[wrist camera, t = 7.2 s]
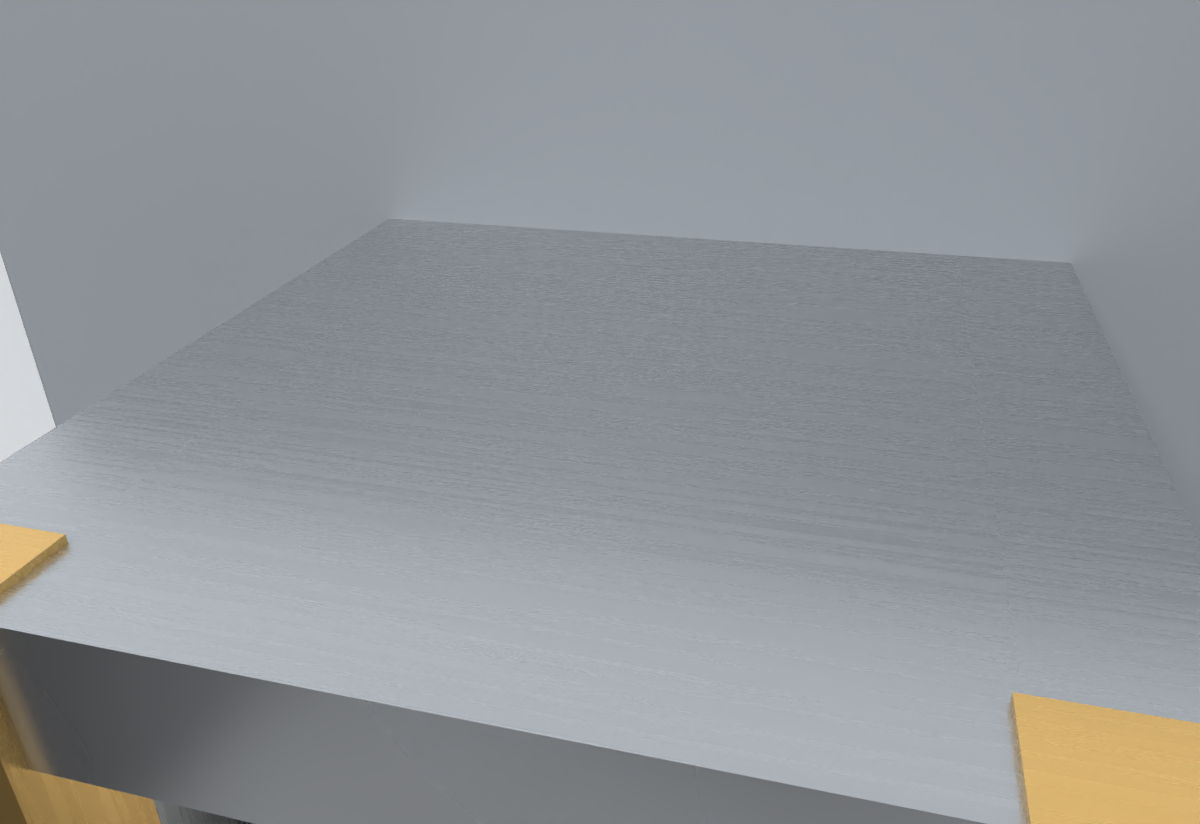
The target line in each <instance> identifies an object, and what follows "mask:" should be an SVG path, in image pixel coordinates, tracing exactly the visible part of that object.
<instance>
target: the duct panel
mask: <svg viewBox="0 0 1200 824" xmlns="http://www.w3.org/2000/svg"><path fill="white" fill-rule="evenodd" d="M388 219H404V220H420V221H435V222H451V223H466V224H481V225H497V226H512V227H527V228H543V229H558V230H574V231H589V232H604V233H620V234H635V235H651V236H666V237H681V238H697V239H712V240H727V241H743V242H758V243H774V244H789V245H804V246H820V247H835V248H850V249H866V250H881V251H897V252H912V253H927V254H943V255H958V256H973V257H989V258H1004V259H1020V260H1035V261H1050V262H1066V263H1071V264H1072V266H1073V269H1074V271H1075V273H1076V275H1077V277H1078V280H1079V282H1080V284H1081V286H1082V288H1083V290H1084V293H1085V295H1086V297H1087V299H1088V301H1089V303H1090V306H1091V308H1092V310H1093V312H1094V314H1095V316H1096V319H1097V321H1098V323H1099V325H1100V327H1101V329H1102V332H1103V334H1104V336H1105V338H1106V340H1107V342H1108V345H1109V347H1110V349H1111V351H1112V353H1113V356H1114V358H1115V360H1116V362H1117V364H1118V366H1119V369H1120V371H1121V373H1122V375H1123V377H1124V379H1125V382H1126V384H1127V386H1128V388H1129V390H1130V392H1131V395H1132V397H1133V399H1134V401H1135V403H1136V405H1137V408H1138V410H1139V412H1140V414H1141V416H1142V418H1143V421H1144V423H1145V425H1146V427H1147V429H1148V432H1149V434H1150V436H1151V438H1152V440H1153V442H1154V445H1155V447H1156V449H1157V451H1158V453H1159V455H1160V458H1161V460H1162V462H1163V464H1164V466H1165V468H1166V471H1167V473H1168V475H1169V477H1170V479H1171V481H1172V484H1173V486H1174V488H1175V490H1176V492H1177V494H1178V497H1179V499H1180V501H1181V503H1182V505H1183V508H1184V510H1185V512H1186V514H1187V516H1188V518H1189V521H1190V523H1191V525H1192V527H1193V529H1194V531H1195V534H1196V536H1197V538H1198V540H1199V542H1200V0H0V252H1V255H2V259H3V262H4V265H5V268H6V271H7V274H8V277H9V281H10V284H11V287H12V290H13V293H14V296H15V299H16V303H17V306H18V309H19V312H20V315H21V318H22V321H23V325H24V328H25V331H26V334H27V337H28V340H29V343H30V347H31V350H32V353H33V356H34V359H35V362H36V366H37V369H38V372H39V375H40V378H41V381H42V384H43V388H44V391H45V394H46V397H47V400H48V403H49V406H50V410H51V413H52V416H53V419H54V422H55V425H56V427H58V426H59V425H61V424H62V423H64V422H66V421H67V420H69V419H70V418H72V417H73V416H75V415H77V414H78V413H80V412H81V411H83V410H85V409H86V408H88V407H89V406H91V405H93V404H94V403H96V402H97V401H99V400H101V399H102V398H104V397H105V396H107V395H109V394H110V393H112V392H113V391H115V390H117V389H118V388H120V387H121V386H123V385H125V384H126V383H128V382H129V381H131V380H133V379H134V378H136V377H137V376H139V375H141V374H142V373H144V372H145V371H147V370H149V369H150V368H152V367H153V366H155V365H156V364H158V363H160V362H161V361H163V360H164V359H166V358H168V357H169V356H171V355H172V354H174V353H176V352H177V351H179V350H180V349H182V348H184V347H185V346H187V345H188V344H190V343H192V342H193V341H195V340H196V339H198V338H200V337H201V336H203V335H204V334H206V333H208V332H209V331H211V330H212V329H214V328H216V327H217V326H219V325H220V324H222V323H224V322H225V321H227V320H228V319H230V318H232V317H233V316H235V315H236V314H238V313H239V312H241V311H243V310H244V309H246V308H247V307H249V306H251V305H252V304H254V303H255V302H257V301H259V300H260V299H262V298H263V297H265V296H267V295H268V294H270V293H271V292H273V291H275V290H276V289H278V288H279V287H281V286H283V285H284V284H286V283H287V282H289V281H291V280H292V279H294V278H295V277H297V276H299V275H300V274H302V273H303V272H305V271H307V270H308V269H310V268H311V267H313V266H314V265H316V264H318V263H319V262H321V261H322V260H324V259H326V258H327V257H329V256H330V255H332V254H334V253H335V252H337V251H338V250H340V249H342V248H343V247H345V246H346V245H348V244H350V243H351V242H353V241H354V240H356V239H358V238H359V237H361V236H362V235H364V234H366V233H367V232H369V231H370V230H372V229H374V228H375V227H377V226H378V225H380V224H382V223H383V222H385V221H386V220H388Z"/></svg>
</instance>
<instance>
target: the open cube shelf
mask: <svg viewBox="0 0 1200 824" xmlns="http://www.w3.org/2000/svg"><path fill="white" fill-rule="evenodd" d="M0 824H1200V542H1199V540H1198V538H1197V536H1196V534H1195V531H1194V529H1193V527H1192V525H1191V523H1190V521H1189V518H1188V516H1187V514H1186V512H1185V510H1184V508H1183V505H1182V503H1181V501H1180V499H1179V497H1178V494H1177V492H1176V490H1175V488H1174V486H1173V484H1172V481H1171V479H1170V477H1169V475H1168V473H1167V471H1166V468H1165V466H1164V464H1163V462H1162V460H1161V458H1160V455H1159V453H1158V451H1157V449H1156V447H1155V445H1154V442H1153V440H1152V438H1151V436H1150V434H1149V432H1148V429H1147V427H1146V425H1145V423H1144V421H1143V418H1142V416H1141V414H1140V412H1139V410H1138V408H1137V405H1136V403H1135V401H1134V399H1133V397H1132V395H1131V392H1130V390H1129V388H1128V386H1127V384H1126V382H1125V379H1124V377H1123V375H1122V373H1121V371H1120V369H1119V366H1118V364H1117V362H1116V360H1115V358H1114V356H1113V353H1112V351H1111V349H1110V347H1109V345H1108V342H1107V340H1106V338H1105V336H1104V334H1103V332H1102V329H1101V327H1100V325H1099V323H1098V321H1097V319H1096V316H1095V314H1094V312H1093V310H1092V308H1091V306H1090V303H1089V301H1088V299H1087V297H1086V295H1085V293H1084V290H1083V288H1082V286H1081V284H1080V282H1079V280H1078V277H1077V275H1076V273H1075V271H1074V269H1073V266H1072V264H1071V263H1066V262H1050V261H1035V260H1020V259H1004V258H989V257H973V256H958V255H943V254H927V253H912V252H897V251H881V250H866V249H850V248H835V247H820V246H804V245H789V244H774V243H758V242H743V241H727V240H712V239H697V238H681V237H666V236H651V235H635V234H620V233H604V232H589V231H574V230H558V229H543V228H527V227H512V226H497V225H481V224H466V223H451V222H435V221H420V220H404V219H388V220H386V221H385V222H383V223H382V224H380V225H378V226H377V227H375V228H374V229H372V230H370V231H369V232H367V233H366V234H364V235H362V236H361V237H359V238H358V239H356V240H354V241H353V242H351V243H350V244H348V245H346V246H345V247H343V248H342V249H340V250H338V251H337V252H335V253H334V254H332V255H330V256H329V257H327V258H326V259H324V260H322V261H321V262H319V263H318V264H316V265H314V266H313V267H311V268H310V269H308V270H307V271H305V272H303V273H302V274H300V275H299V276H297V277H295V278H294V279H292V280H291V281H289V282H287V283H286V284H284V285H283V286H281V287H279V288H278V289H276V290H275V291H273V292H271V293H270V294H268V295H267V296H265V297H263V298H262V299H260V300H259V301H257V302H255V303H254V304H252V305H251V306H249V307H247V308H246V309H244V310H243V311H241V312H239V313H238V314H236V315H235V316H233V317H232V318H230V319H228V320H227V321H225V322H224V323H222V324H220V325H219V326H217V327H216V328H214V329H212V330H211V331H209V332H208V333H206V334H204V335H203V336H201V337H200V338H198V339H196V340H195V341H193V342H192V343H190V344H188V345H187V346H185V347H184V348H182V349H180V350H179V351H177V352H176V353H174V354H172V355H171V356H169V357H168V358H166V359H164V360H163V361H161V362H160V363H158V364H156V365H155V366H153V367H152V368H150V369H149V370H147V371H145V372H144V373H142V374H141V375H139V376H137V377H136V378H134V379H133V380H131V381H129V382H128V383H126V384H125V385H123V386H121V387H120V388H118V389H117V390H115V391H113V392H112V393H110V394H109V395H107V396H105V397H104V398H102V399H101V400H99V401H97V402H96V403H94V404H93V405H91V406H89V407H88V408H86V409H85V410H83V411H81V412H80V413H78V414H77V415H75V416H73V417H72V418H70V419H69V420H67V421H66V422H64V423H62V424H61V425H59V426H58V427H56V428H54V429H53V430H51V431H50V432H48V433H46V434H45V435H43V436H42V437H40V438H38V439H37V440H35V441H34V442H32V443H30V444H29V445H27V446H26V447H24V448H22V449H21V450H19V451H18V452H16V453H14V454H13V455H11V456H10V457H8V458H6V459H5V460H3V461H2V462H0Z"/></svg>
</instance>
